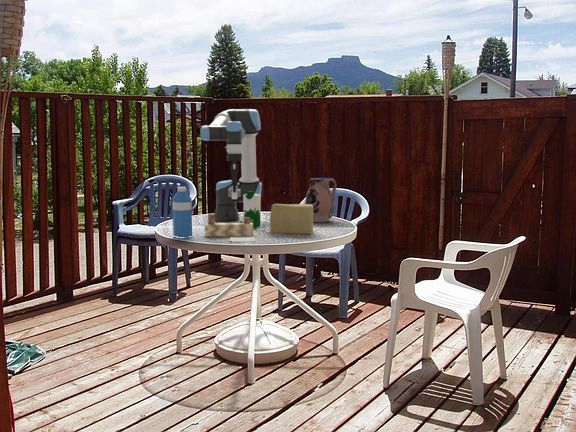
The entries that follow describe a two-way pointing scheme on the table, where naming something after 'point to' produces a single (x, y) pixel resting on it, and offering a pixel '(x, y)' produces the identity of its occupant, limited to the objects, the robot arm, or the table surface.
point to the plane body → (228, 228)
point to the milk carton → (252, 208)
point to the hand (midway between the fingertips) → (234, 197)
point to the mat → (242, 239)
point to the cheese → (291, 218)
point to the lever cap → (231, 192)
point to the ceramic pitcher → (321, 198)
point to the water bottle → (182, 213)
